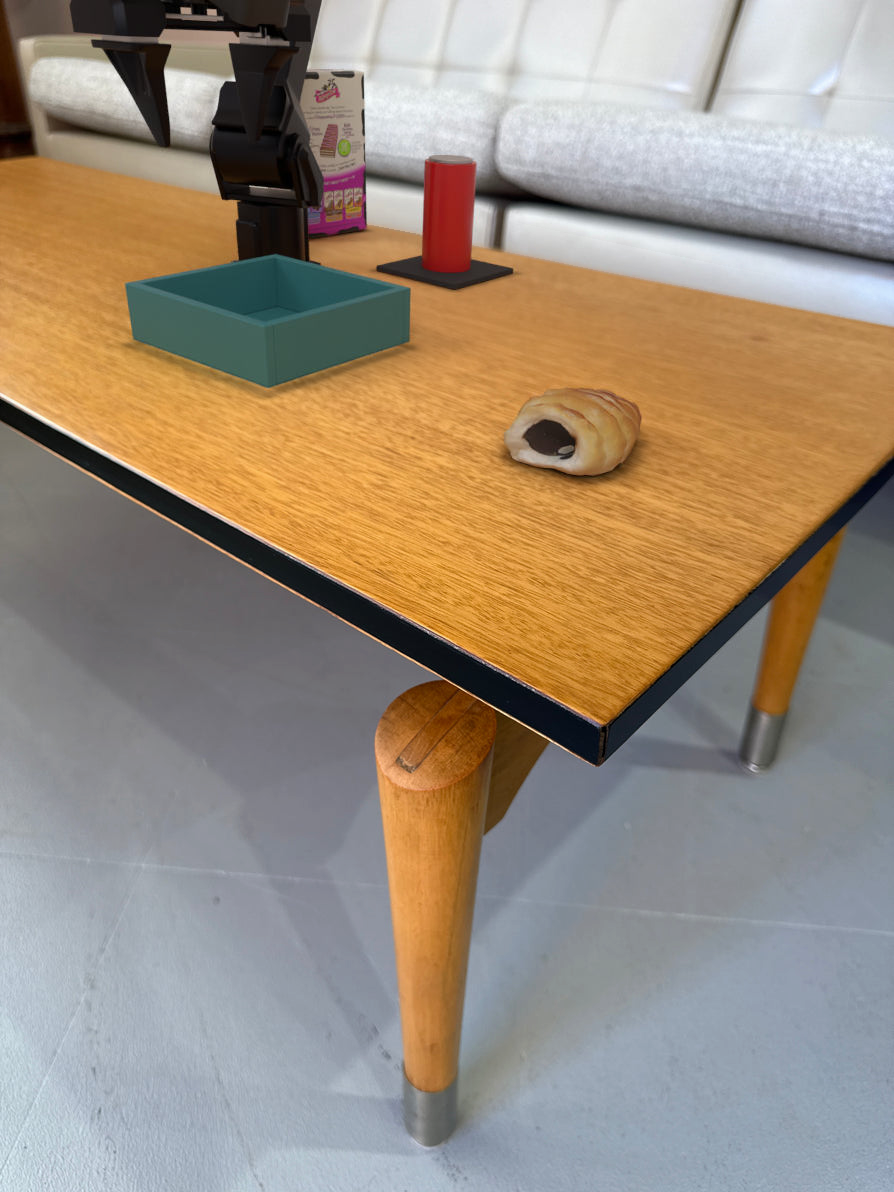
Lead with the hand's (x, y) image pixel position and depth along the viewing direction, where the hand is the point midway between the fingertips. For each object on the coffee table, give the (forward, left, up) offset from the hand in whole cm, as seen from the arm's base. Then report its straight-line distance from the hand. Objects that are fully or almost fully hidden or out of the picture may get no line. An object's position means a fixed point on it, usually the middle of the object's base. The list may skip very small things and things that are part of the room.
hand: (211, 143), depth 71 cm
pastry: (+8, +41, -12) cm, 44 cm away
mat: (-22, +8, -12) cm, 26 cm away
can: (-22, +8, -12) cm, 26 cm away
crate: (+7, +14, -12) cm, 20 cm away
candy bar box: (-26, -14, -12) cm, 32 cm away
